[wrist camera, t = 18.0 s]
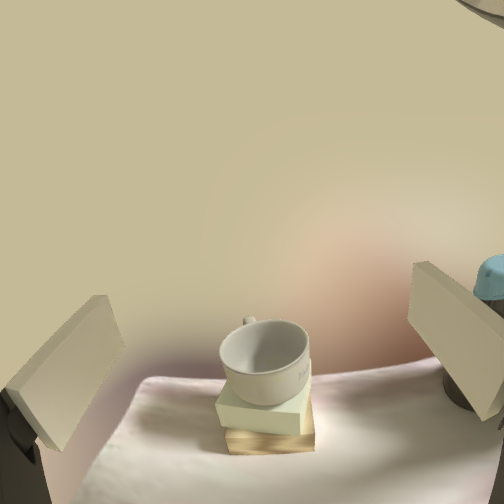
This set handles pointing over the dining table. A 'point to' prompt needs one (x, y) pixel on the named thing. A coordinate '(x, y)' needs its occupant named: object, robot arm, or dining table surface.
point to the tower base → (272, 439)
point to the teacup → (266, 360)
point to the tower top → (263, 412)
